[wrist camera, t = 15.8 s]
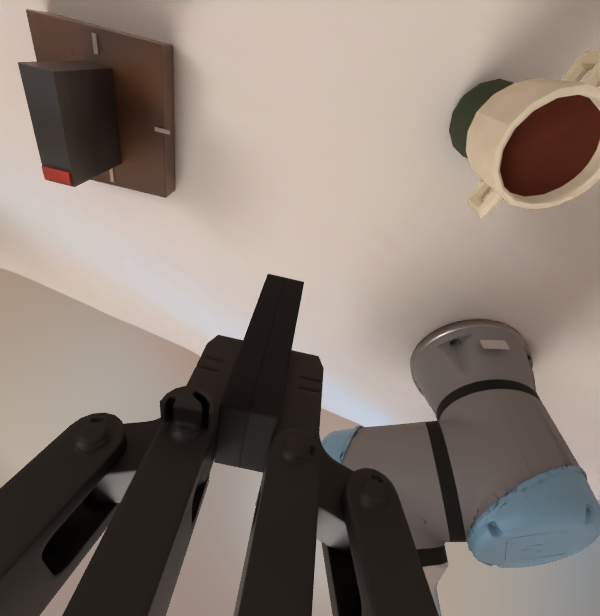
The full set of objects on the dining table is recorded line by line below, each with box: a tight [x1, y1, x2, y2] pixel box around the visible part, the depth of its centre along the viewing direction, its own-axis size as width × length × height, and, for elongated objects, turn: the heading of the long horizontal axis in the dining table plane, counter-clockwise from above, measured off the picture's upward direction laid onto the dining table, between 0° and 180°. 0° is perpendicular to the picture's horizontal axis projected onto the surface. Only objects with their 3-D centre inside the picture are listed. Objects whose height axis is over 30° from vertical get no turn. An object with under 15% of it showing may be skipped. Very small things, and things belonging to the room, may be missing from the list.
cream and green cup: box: [449, 51, 600, 217], centre depth 26 cm, size 11×7×13 cm, turn 155°
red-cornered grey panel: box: [18, 61, 122, 187], centre depth 28 cm, size 8×2×8 cm, turn 167°
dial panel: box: [26, 9, 175, 198], centre depth 32 cm, size 13×12×3 cm
